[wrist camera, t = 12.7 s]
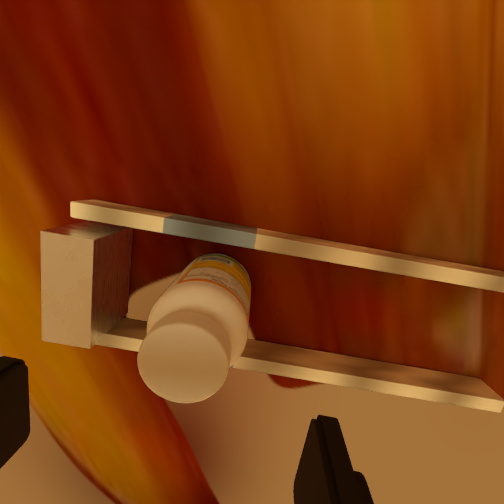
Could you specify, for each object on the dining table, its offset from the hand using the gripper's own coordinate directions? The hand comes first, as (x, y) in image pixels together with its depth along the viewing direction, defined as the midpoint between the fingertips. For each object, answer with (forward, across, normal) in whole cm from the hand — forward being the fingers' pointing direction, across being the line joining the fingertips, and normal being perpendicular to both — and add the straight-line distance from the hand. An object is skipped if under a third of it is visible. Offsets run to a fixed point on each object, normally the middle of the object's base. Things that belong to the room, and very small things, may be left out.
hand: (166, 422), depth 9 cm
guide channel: (+13, -6, 0) cm, 14 cm away
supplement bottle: (+13, +1, 0) cm, 13 cm away
